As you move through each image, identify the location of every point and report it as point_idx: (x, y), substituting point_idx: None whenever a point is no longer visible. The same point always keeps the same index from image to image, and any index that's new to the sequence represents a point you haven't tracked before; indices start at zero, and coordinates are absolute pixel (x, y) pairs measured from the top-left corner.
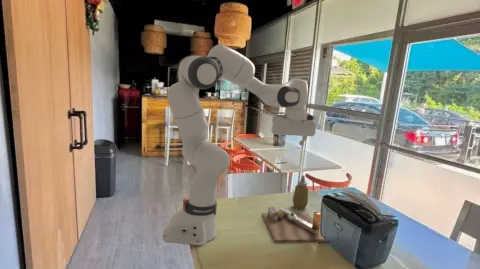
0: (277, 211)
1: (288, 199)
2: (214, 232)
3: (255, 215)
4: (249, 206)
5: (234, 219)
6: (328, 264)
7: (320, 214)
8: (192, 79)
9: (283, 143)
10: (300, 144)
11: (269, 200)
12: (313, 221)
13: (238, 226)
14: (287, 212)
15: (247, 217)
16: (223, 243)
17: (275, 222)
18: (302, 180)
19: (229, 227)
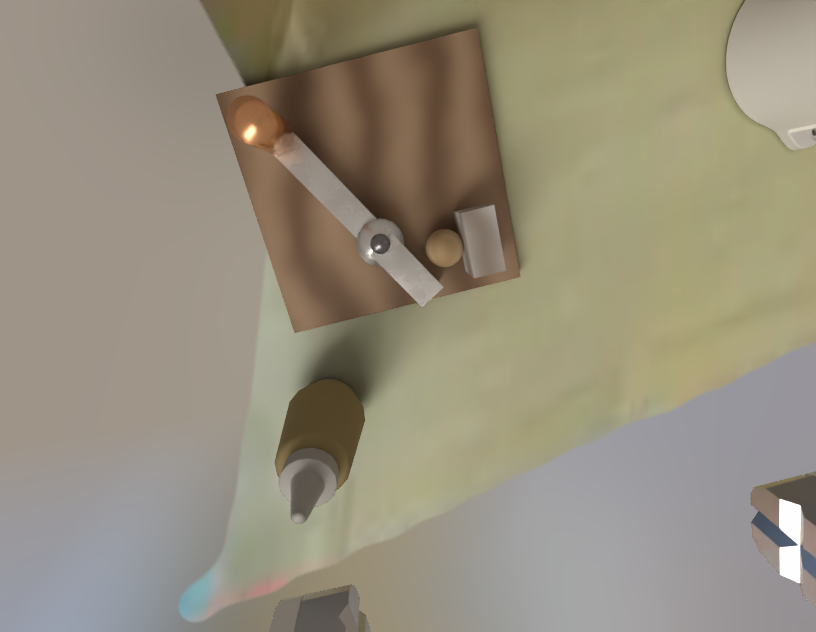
0: (457, 251)
1: (376, 472)
2: (758, 9)
3: (546, 268)
4: (569, 350)
5: (644, 205)
6: None
7: (234, 107)
8: None
9: (792, 491)
10: (352, 600)
11: (470, 436)
12: (282, 119)
13: (628, 144)
14: (406, 256)
15: (584, 239)
16: None
17: (462, 198)
18: (308, 483)
19: (669, 125)
